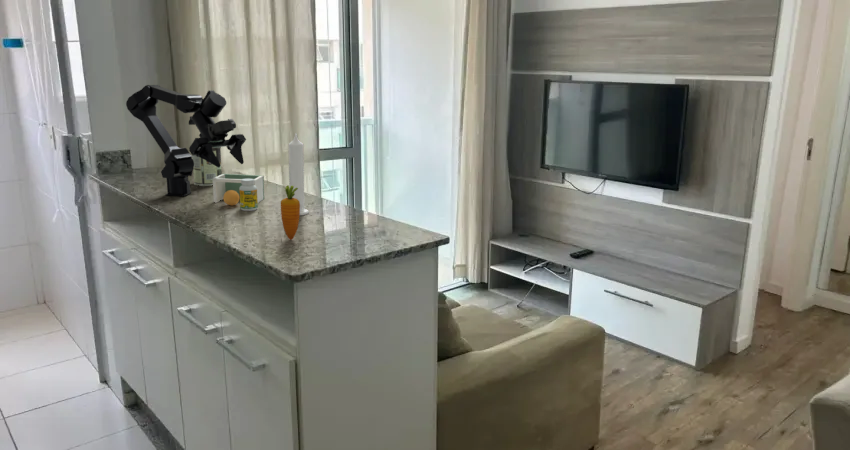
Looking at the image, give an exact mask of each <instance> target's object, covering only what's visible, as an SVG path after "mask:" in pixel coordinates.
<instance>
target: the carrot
mask: <svg viewBox="0 0 850 450" xmlns="http://www.w3.org/2000/svg"><path fill="white" fill-rule="evenodd" d="M293 188H294V186H291V187H290V189H289V184H288V185H286V186H285V188H284V190H285V194H286V197H285V198H283V199H282V200H280V215H281V216H280V217H281V221H282V226H283V230H284V233H285V234H286V237H287V239H288V240H289V241H292V240H293V239H294V237H295V236H296V234H297V230H298V227H299V224H300V216H301V215H300V202H299V201H298V200H297V199H296V198H292V197H293V196H294V195H295V193H294V192H295V191H296V190H297V189H298V188H295V189H294V190H293ZM292 190H293V191H292Z"/></svg>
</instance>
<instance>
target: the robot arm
mask: <svg viewBox="0 0 850 450" xmlns="http://www.w3.org/2000/svg"><path fill="white" fill-rule="evenodd" d="M159 101H160V102H163V103H167V104H170V105H173V106H174V107H175V109H177V110H178V111H180V112H181V113H183V114H192V113H193V115H192V116H191V115H190V116H189V119H188V125H189V126H195V127H196V129H197V130H198V132H199V135H198V137H195V138H194V139H193V140H192V143H191V144H190V145H189V147H188V148H189V150H188V149H187V147H178V145H177V144H176V143H175V140H174V139H173V137H172V136H171V135H170V133H169V132H168V130H167V129H166V127H165V126H164V124H163V123H162V121H161V120H160V118H159V117H158V116H157V106H156V105H158V103H159ZM125 105H126V106H125V107H126V109H127V110H128V112H129V113H130V114H131V115H132V116H133V117H134V118H135V119H138V120H139V121H141V122H142V123H143V124H144V126H145V128H146V129H147V130H148V132H149V133H150V135H151V136H152V137H153V139H154V141H155V142H156V144H157V146H158V147H159V148H160V150H161V151H162V153H163V154H164V156H163V157H164V162H163V163H164V164H165V166H163V168H162V169H161V171H160V173H161V174H160V175H161V176H162V179H163V178H164V179H166V190H167V192H166V193H165V196H167V197H168V196H170V197H172V196H173V197H186V196H187V195H190V194H191V193H192V191H191V183H190V182H191V181H190V180H189V177H193V167H194V161H193V158H192V157H193V156H192V155H196V156H197V157H200V158H202V159H204V160H206V161H208V162H210V163H212V164H213V165H215V166H217V167H218V168H219V167H220V166H221V167H222V164H221V165H220V163H219V161H218V159H217V157H216V156H215V154H214V152H213V150H212V147H213V148H216V147H221V148H223V147H226V148H227V150H229V154H230V155H231V156H232V157H233V158H234V159H236V161H237V162H238V163H239V164H240V165H243V164H244V162H245V161H244V157H243V151H242V147H243V145H244V143H246V140H247V139H246V137H245V135H244V134H243V133H242V134H241V133H238V134H237V133H236V134H231V136H230V137H229V139H226V138H227V137H228V136H229V133H230V132H231V131H234V130H235V129H236V128H237V124H236V122H235V120H234V119H233V118H228V119H226V120H225V119H224V120H219V121H217V122H215V120H214V118H217V117H218V116H219V115H220V113H221V112H222V111H223V110H224V108H225V106H226V105H227V100H226V98H225V97H224V96H223V95H221V94H219V93H217V92H216V91H215V90H208V91H207V93H206V94H205V96H204V97H203V96H202V95H200V94H194V93H193V94H192V93H181V92H177V91H175V90H171V89H169V88H166V87H162V86H160V85H159V84H146V85H145V86H143V87H142V88H141V89H140V90H138V91H136V92H135V93H133V94H131V95H130V96H129V97H128V98H127V100H126V102H125Z"/></svg>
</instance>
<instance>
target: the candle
mask: <svg viewBox="0 0 850 450" xmlns="http://www.w3.org/2000/svg"><path fill="white" fill-rule="evenodd" d="M304 147H305V145H304V143H303V142H302V141H300V140H299V138H298V134H297V132H295V133H294V137H293V140H291V141H290V142H289V143H288V182H289V184H288V185H289V189H290V187H291V186H294V188H293V190H294V189H295V188H298V189H297V190H296V191H295V192H294V193H295V195H294V196H293V197H292V198H296V199H297V200H298V201H299V202H300V216H305V215H308V214H309V210H308V209H307V208H305V170H304V169H305V161H304V160H305V157H304V156H305V154H304V153H305V152H304ZM293 190H292V191H293Z"/></svg>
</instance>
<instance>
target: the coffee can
mask: <svg viewBox="0 0 850 450" xmlns="http://www.w3.org/2000/svg"><path fill="white" fill-rule="evenodd" d="M221 149H222V147H216V148H213V147H212V150H213V152H214V154H215V156H216V157H217V159H218V161H219V163H220V165H221V166H220V167H219V168H218V167H217V166H215V165H213V164H212V163H210V162H208V161H206V160H204V159H202V158H200V157H197V156H196V155H192V154H191V156H193V157H191V158H192V159H193V161H194V167H193V172H192V175H193V185H194V186H198V185H199V187H200V186H201V187H213V186H212V185H213V178H215V177H217V176H219V175H221V174H223V173H222V172H223V171H222V158H221V157H222V153H221Z"/></svg>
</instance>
